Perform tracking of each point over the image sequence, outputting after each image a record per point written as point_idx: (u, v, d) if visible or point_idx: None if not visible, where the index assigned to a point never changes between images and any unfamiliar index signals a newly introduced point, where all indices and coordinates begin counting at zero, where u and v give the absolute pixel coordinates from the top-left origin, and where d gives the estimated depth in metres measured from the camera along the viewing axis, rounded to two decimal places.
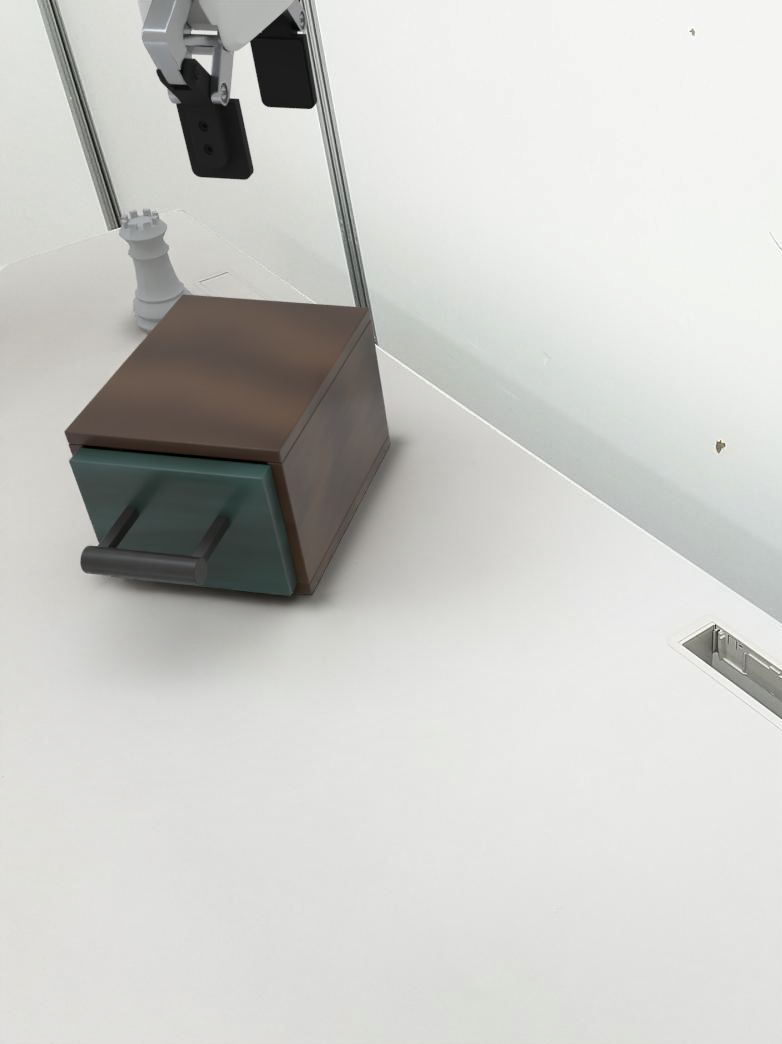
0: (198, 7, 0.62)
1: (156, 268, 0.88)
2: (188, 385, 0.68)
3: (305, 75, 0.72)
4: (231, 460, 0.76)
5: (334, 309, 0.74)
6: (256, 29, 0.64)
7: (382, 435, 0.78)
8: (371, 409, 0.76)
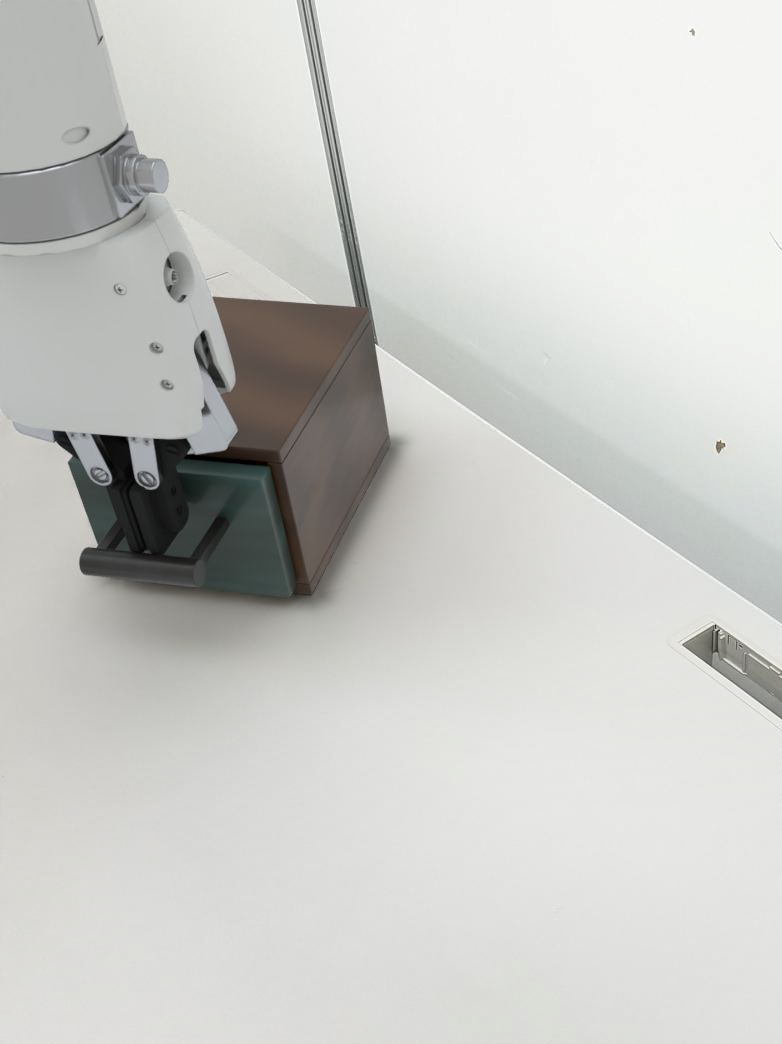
0: None
1: None
2: None
3: (139, 523, 0.61)
4: (230, 461, 0.75)
5: (334, 309, 0.74)
6: (54, 425, 0.57)
7: (382, 435, 0.78)
8: (371, 409, 0.76)
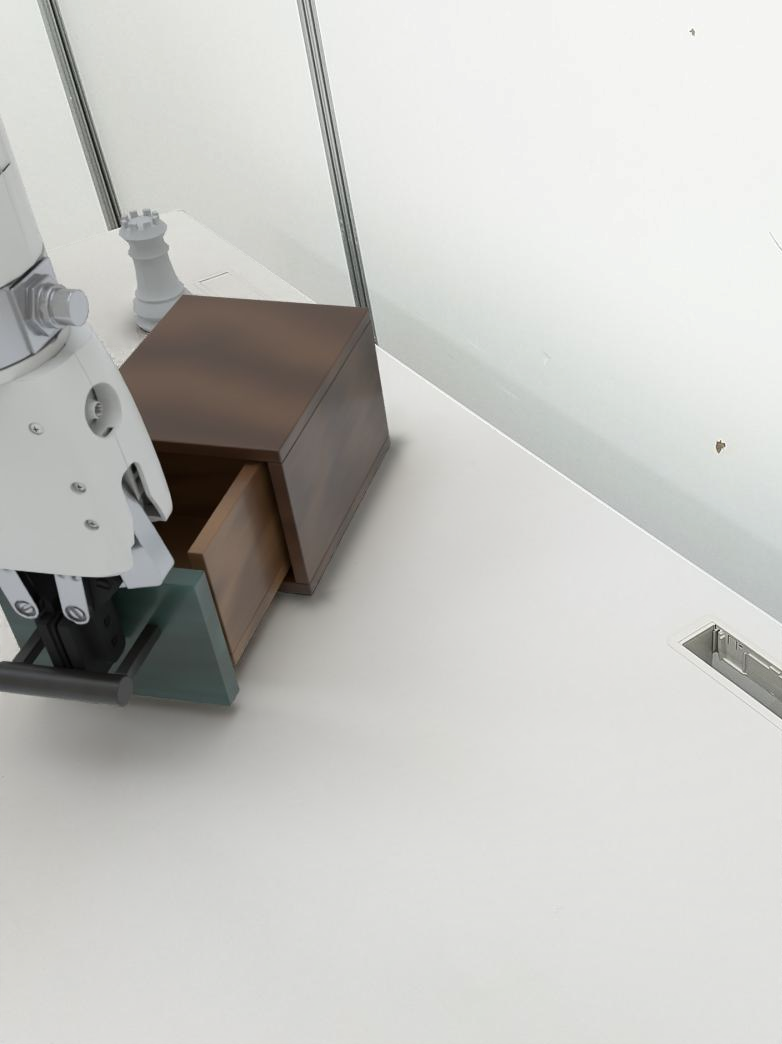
0: None
1: (156, 268, 0.88)
2: (188, 385, 0.68)
3: (70, 656, 0.57)
4: (173, 547, 0.70)
5: (334, 309, 0.74)
6: None
7: (382, 435, 0.78)
8: (371, 409, 0.76)
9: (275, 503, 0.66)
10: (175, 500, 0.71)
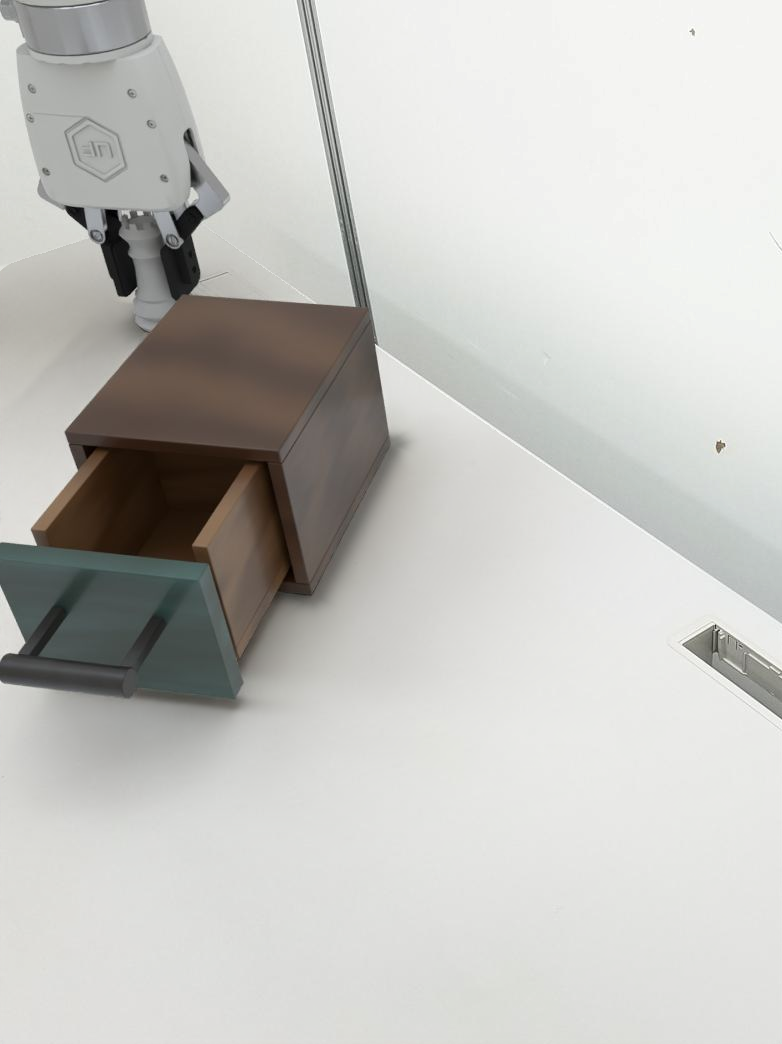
0: None
1: (156, 268, 0.88)
2: (188, 385, 0.68)
3: None
4: (176, 541, 0.70)
5: (334, 309, 0.74)
6: None
7: (382, 435, 0.78)
8: (371, 409, 0.76)
9: None
10: (179, 495, 0.71)
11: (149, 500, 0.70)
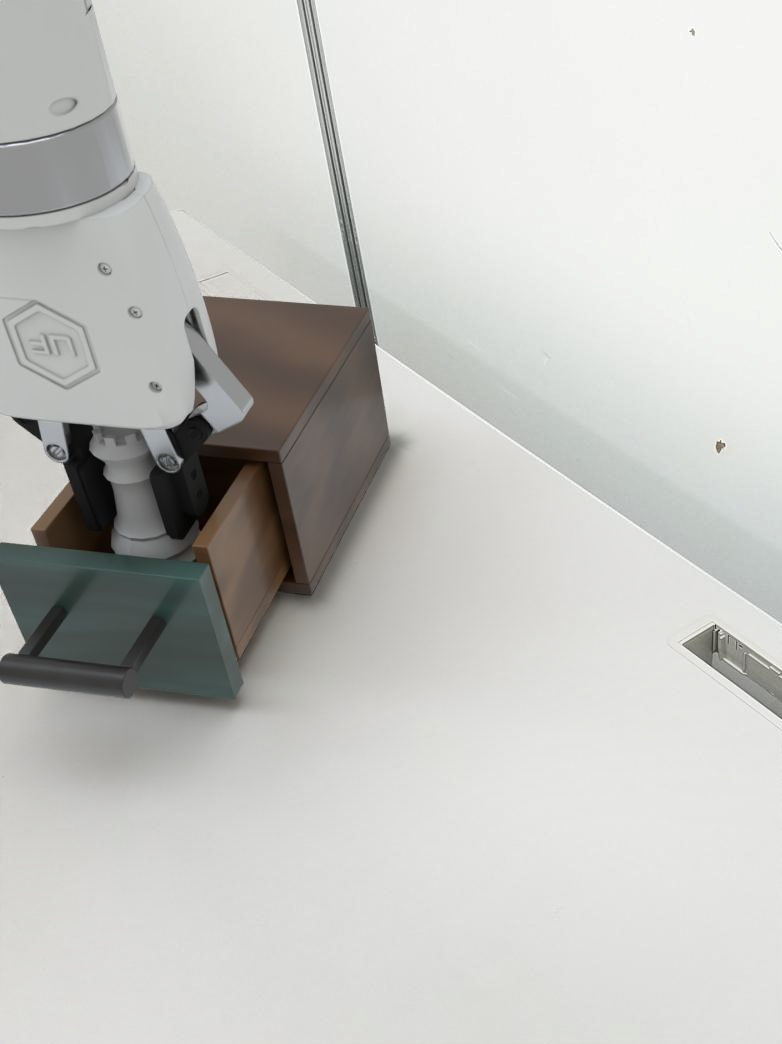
0: None
1: (144, 493, 0.61)
2: None
3: None
4: None
5: (334, 309, 0.74)
6: None
7: (382, 435, 0.78)
8: (371, 409, 0.76)
9: None
10: None
11: None
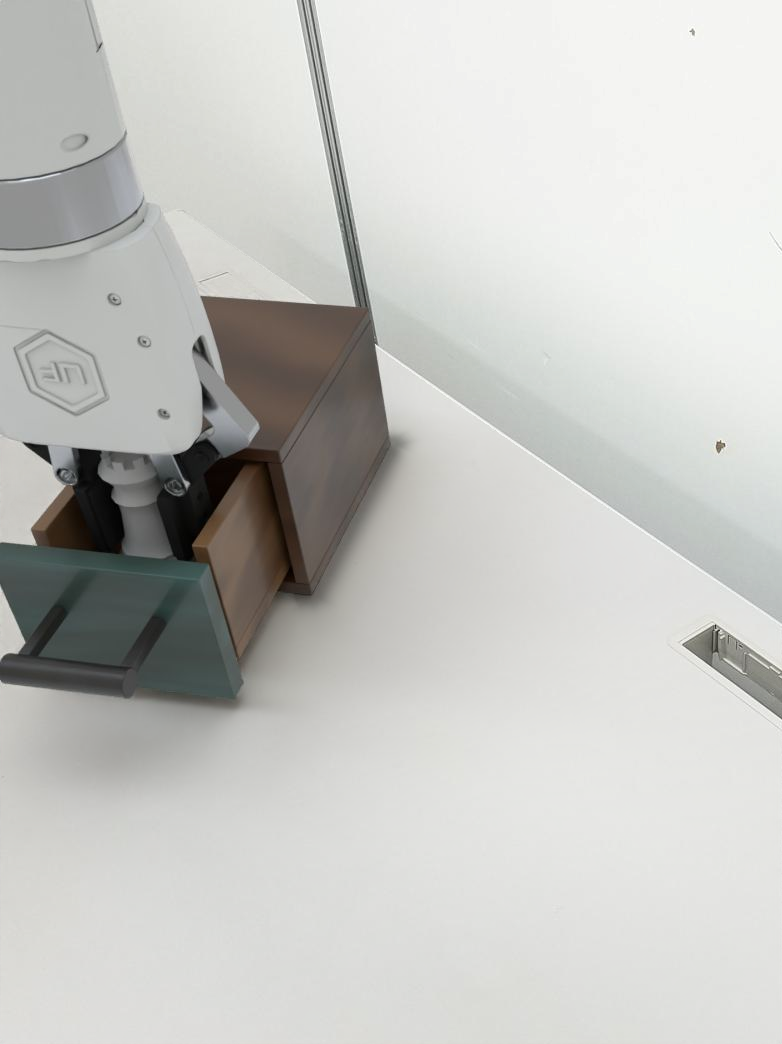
0: None
1: (152, 516, 0.61)
2: None
3: None
4: None
5: (334, 309, 0.74)
6: None
7: (382, 435, 0.78)
8: (371, 409, 0.76)
9: None
10: None
11: None
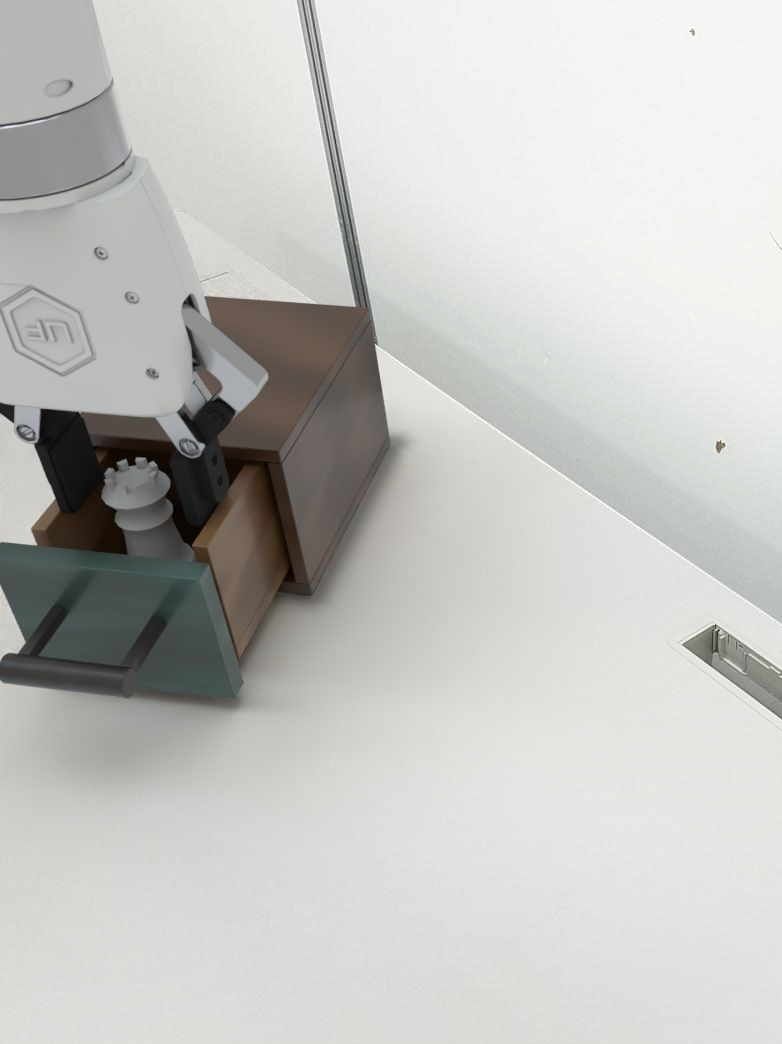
0: None
1: (154, 539, 0.63)
2: None
3: (92, 447, 0.62)
4: None
5: (334, 309, 0.74)
6: None
7: (382, 435, 0.78)
8: (371, 409, 0.76)
9: None
10: None
11: None
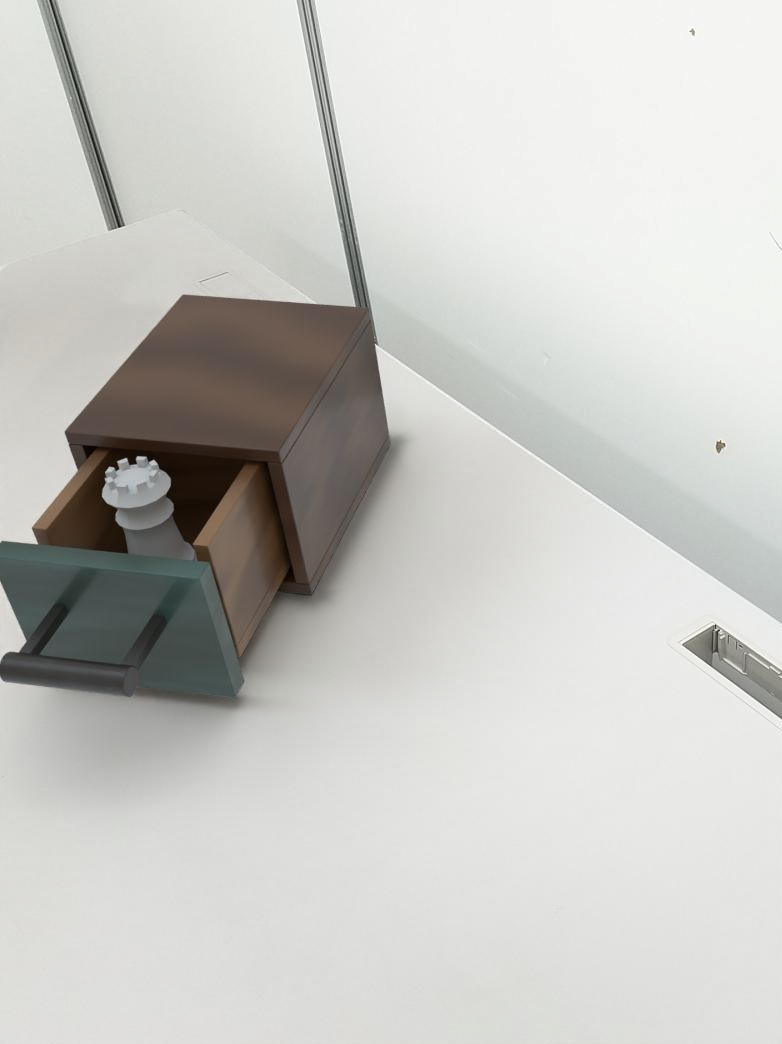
0: None
1: (155, 538, 0.63)
2: (188, 385, 0.68)
3: None
4: None
5: (334, 309, 0.74)
6: None
7: (382, 435, 0.78)
8: (371, 409, 0.76)
9: None
10: (179, 494, 0.71)
11: None
